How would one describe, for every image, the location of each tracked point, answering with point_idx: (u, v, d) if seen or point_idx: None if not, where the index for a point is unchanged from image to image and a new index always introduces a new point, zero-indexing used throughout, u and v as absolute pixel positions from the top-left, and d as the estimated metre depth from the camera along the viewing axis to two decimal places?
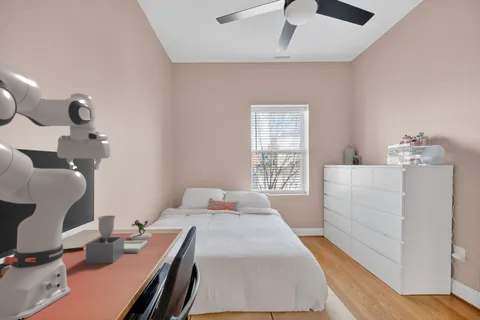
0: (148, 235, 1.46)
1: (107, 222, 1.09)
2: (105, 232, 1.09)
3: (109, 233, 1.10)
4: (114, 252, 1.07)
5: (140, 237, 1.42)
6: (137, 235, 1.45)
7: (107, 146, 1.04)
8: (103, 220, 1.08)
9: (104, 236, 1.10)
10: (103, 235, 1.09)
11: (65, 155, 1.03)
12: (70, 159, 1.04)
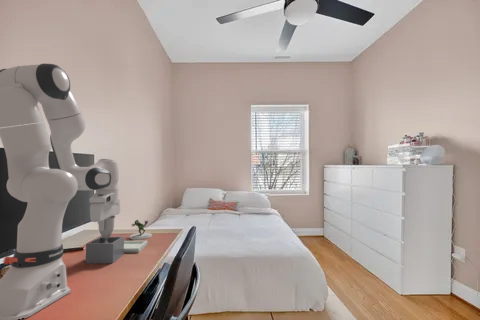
0: (148, 235, 1.46)
1: (107, 222, 1.09)
2: (105, 232, 1.09)
3: (109, 233, 1.10)
4: (114, 252, 1.07)
5: (140, 237, 1.42)
6: (137, 235, 1.45)
7: (96, 209, 1.02)
8: None
9: (104, 236, 1.10)
10: (103, 235, 1.09)
11: None
12: None
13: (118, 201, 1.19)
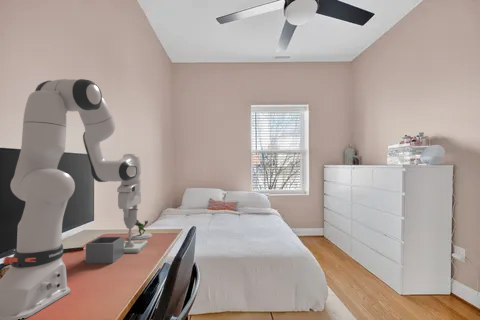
0: (148, 235, 1.46)
1: (132, 214, 1.23)
2: (130, 223, 1.23)
3: (133, 224, 1.24)
4: (114, 252, 1.07)
5: (140, 237, 1.42)
6: (137, 235, 1.45)
7: (123, 198, 1.16)
8: (128, 212, 1.23)
9: (129, 226, 1.24)
10: (128, 225, 1.24)
11: None
12: (133, 205, 1.31)
13: (139, 192, 1.34)
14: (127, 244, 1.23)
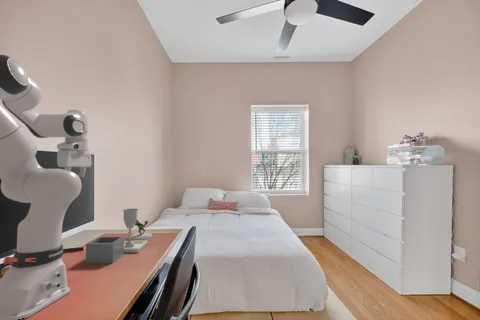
0: (148, 235, 1.46)
1: (132, 214, 1.23)
2: (130, 223, 1.23)
3: (133, 224, 1.24)
4: (114, 252, 1.07)
5: (140, 237, 1.42)
6: (137, 235, 1.45)
7: (63, 155, 1.06)
8: (128, 212, 1.23)
9: (129, 226, 1.24)
10: (128, 225, 1.24)
11: None
12: (81, 168, 1.21)
13: (89, 154, 1.23)
14: (127, 244, 1.23)
